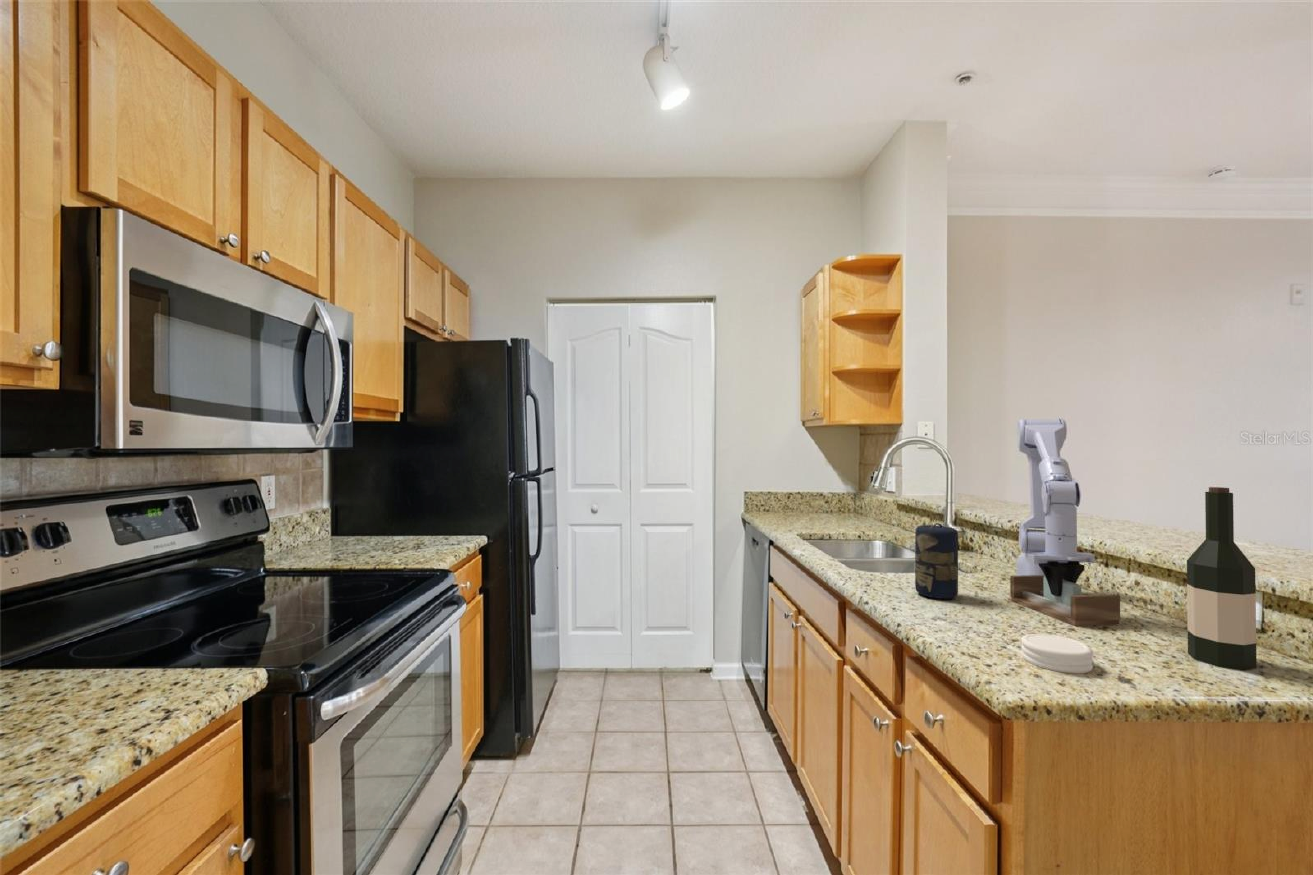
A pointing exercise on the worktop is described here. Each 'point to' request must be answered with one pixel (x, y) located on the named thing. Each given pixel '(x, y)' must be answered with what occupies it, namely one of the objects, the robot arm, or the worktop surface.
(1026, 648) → the coaster
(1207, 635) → the wine bottle
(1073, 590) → the door panel
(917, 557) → the canister
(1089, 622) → the track base
